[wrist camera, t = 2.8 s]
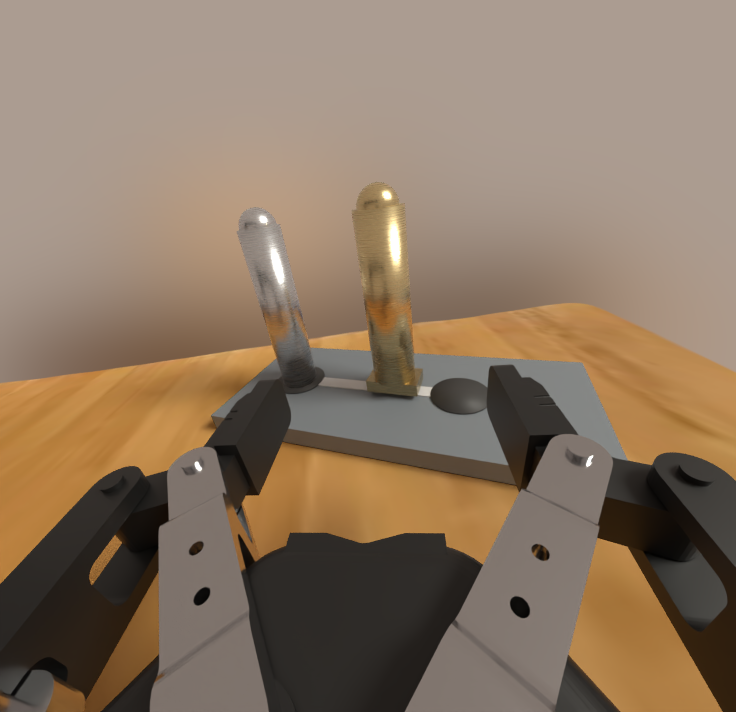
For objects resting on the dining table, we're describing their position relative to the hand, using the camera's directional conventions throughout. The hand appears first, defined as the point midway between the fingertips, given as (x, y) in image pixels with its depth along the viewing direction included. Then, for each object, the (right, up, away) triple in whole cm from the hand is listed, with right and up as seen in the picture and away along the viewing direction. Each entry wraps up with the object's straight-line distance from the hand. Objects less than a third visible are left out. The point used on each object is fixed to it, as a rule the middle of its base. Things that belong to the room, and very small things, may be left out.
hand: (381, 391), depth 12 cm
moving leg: (+2, -1, +13) cm, 13 cm away
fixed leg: (-7, -1, +16) cm, 17 cm away
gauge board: (+2, -3, +14) cm, 14 cm away
